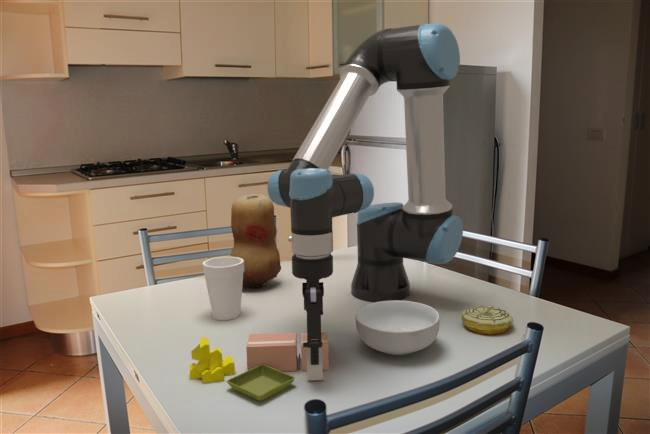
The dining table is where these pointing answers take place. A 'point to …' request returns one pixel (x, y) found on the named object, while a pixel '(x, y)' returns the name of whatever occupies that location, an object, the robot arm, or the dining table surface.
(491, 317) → the decorated donut
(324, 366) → the pink box
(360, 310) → the cereal bowl
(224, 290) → the foam cup
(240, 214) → the butternut squash
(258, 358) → the pink striped box
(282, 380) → the green square tray
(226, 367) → the yellow faceted figurine
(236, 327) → the dining table surface
